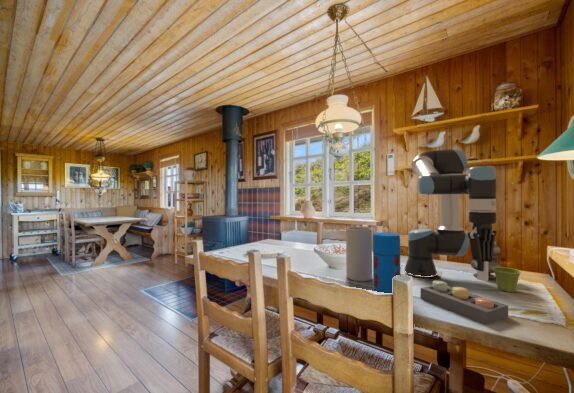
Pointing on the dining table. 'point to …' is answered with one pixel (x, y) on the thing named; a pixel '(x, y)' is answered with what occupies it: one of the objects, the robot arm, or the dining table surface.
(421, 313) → the dining table surface
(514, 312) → the dining table surface
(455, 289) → the ochre button
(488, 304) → the pink button
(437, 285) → the sage button
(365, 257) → the cylinder vase
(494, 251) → the apothecary jar
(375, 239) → the thermos
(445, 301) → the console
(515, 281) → the plant pot
